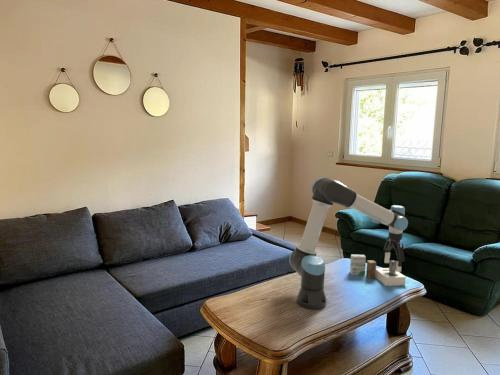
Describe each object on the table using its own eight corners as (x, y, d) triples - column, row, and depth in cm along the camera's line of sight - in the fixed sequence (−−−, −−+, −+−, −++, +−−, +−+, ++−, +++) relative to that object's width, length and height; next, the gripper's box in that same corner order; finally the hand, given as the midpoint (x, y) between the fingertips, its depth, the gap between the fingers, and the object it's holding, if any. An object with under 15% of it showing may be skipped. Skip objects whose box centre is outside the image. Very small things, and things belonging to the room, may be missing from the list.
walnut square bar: (368, 278, 221) (370, 262, 219) (366, 275, 225) (367, 260, 223) (375, 278, 221) (376, 262, 220) (372, 275, 225) (373, 260, 223)
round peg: (390, 282, 213) (391, 262, 211) (387, 279, 217) (388, 260, 215) (396, 281, 214) (397, 262, 212) (393, 279, 217) (394, 260, 215)
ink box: (363, 272, 230) (364, 254, 228) (365, 275, 225) (366, 257, 223) (349, 271, 231) (350, 253, 229) (350, 274, 226) (352, 256, 224)
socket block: (385, 285, 210) (386, 277, 210) (374, 276, 224) (375, 268, 223) (404, 285, 212) (405, 276, 211) (392, 275, 226) (393, 267, 225)
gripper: (413, 238, 199) (410, 275, 202) (391, 226, 223) (388, 259, 226) (400, 238, 198) (397, 275, 201) (379, 226, 222) (376, 259, 225)
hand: (392, 267), depth 214 cm, fingers open, 13 cm apart
